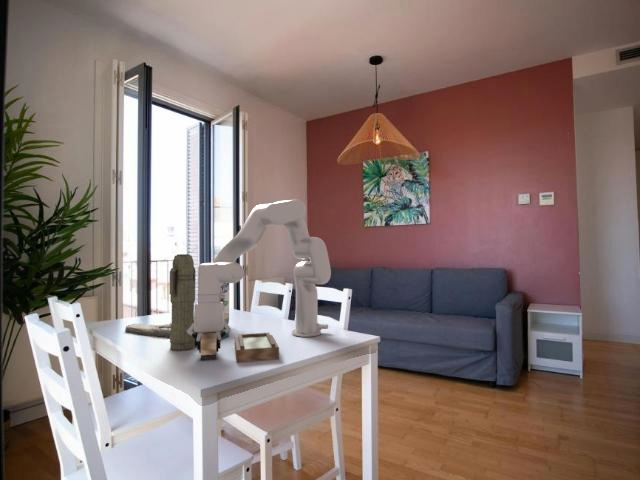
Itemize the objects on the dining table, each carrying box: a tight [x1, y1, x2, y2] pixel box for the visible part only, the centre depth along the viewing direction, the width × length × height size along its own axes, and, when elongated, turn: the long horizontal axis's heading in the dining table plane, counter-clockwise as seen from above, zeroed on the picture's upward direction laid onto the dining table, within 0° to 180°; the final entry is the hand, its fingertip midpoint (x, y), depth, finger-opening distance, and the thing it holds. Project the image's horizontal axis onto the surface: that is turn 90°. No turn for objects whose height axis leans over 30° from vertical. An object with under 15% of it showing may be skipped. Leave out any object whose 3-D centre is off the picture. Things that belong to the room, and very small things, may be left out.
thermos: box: [169, 253, 196, 352], centre depth 140 cm, size 9×12×35 cm
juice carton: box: [220, 283, 230, 330], centre depth 173 cm, size 9×10×27 cm
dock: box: [234, 332, 280, 363], centre depth 133 cm, size 14×18×5 cm
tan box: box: [200, 332, 218, 361], centre depth 129 cm, size 5×10×10 cm, turn 15°
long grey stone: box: [124, 322, 172, 338], centre depth 162 cm, size 35×5×10 cm
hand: (208, 350), depth 129 cm, fingers closed on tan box, 5 cm apart
